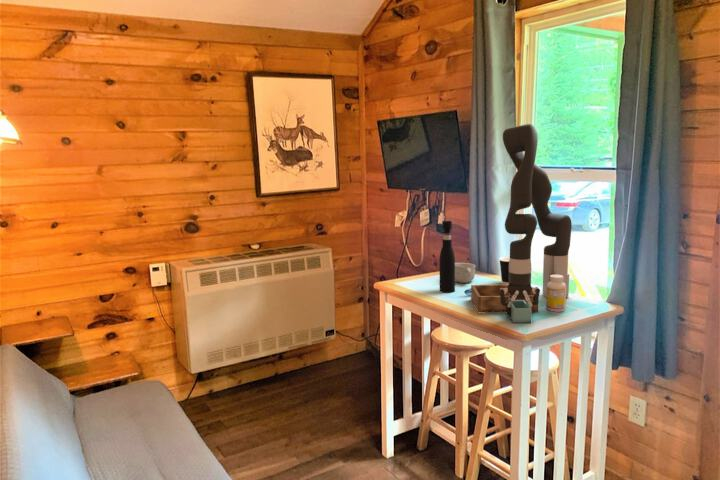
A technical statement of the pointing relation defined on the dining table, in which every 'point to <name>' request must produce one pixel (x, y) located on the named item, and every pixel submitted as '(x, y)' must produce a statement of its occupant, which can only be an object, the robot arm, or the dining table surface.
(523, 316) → the teal tote
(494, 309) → the walnut crate
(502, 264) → the dixie cup
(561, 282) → the supplement bottle
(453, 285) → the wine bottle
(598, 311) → the dining table surface
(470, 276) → the teacup
